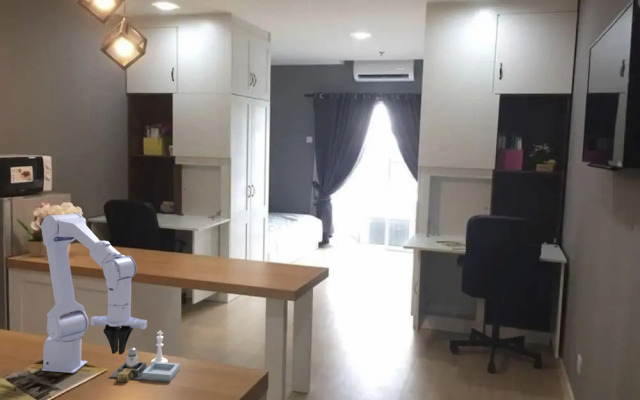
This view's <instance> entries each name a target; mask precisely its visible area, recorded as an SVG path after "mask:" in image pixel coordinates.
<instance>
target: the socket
mask: <svg viewBox="0 0 640 400" xmlns="http://www.w3.org/2000/svg"><path fill="white" fill-rule="evenodd" d="M148 366H149V365H147V362H143V361H138V369H137V370H136V369H134V370H133V376H132V377H131V378H130V380H131V381H132V380H133V381H143V380H142V372H143V371H144V370H145V369H146V368H147V367H148ZM125 368H126V361H125V362H124V363H123V364H122V365H120V366H119V367H118V368H117V369H116V370H114V372H113V373H112V374H110V375H109V378H111V379H118V373H119V372H122V371H123V370H124V369H125Z"/></svg>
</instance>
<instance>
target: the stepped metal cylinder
mask: <svg viewBox="0 0 640 400" xmlns="http://www.w3.org/2000/svg"><path fill="white" fill-rule="evenodd" d="M137 349H138V348H137V347H133V346H132V347H129V348H128V354H126V361H125V362H126V368H127V369H133V370H134V369H136V370H137V369H138V362H139V354H138V353H137V351H138V350H137Z"/></svg>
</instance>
